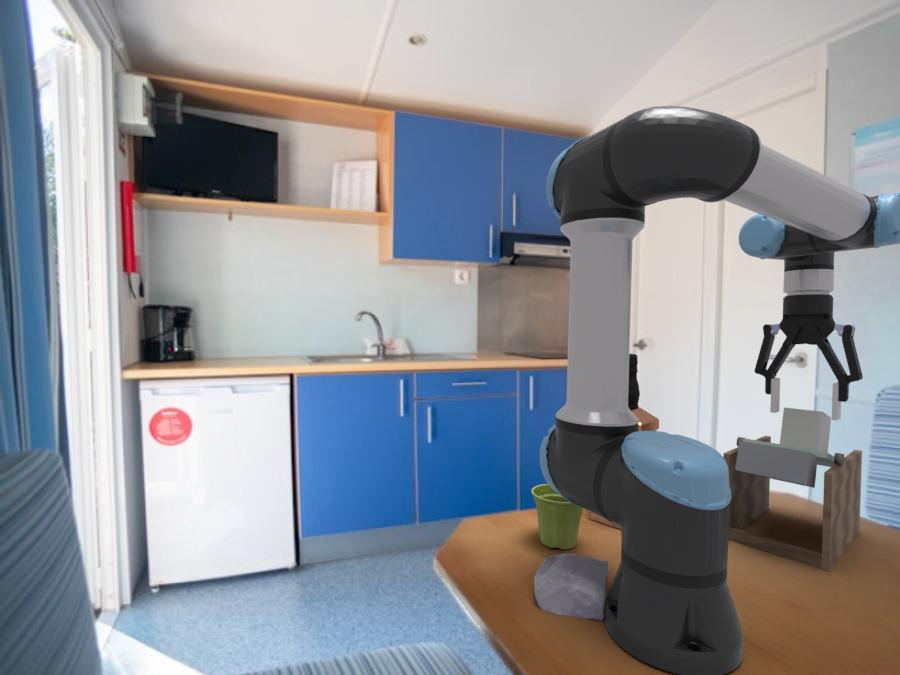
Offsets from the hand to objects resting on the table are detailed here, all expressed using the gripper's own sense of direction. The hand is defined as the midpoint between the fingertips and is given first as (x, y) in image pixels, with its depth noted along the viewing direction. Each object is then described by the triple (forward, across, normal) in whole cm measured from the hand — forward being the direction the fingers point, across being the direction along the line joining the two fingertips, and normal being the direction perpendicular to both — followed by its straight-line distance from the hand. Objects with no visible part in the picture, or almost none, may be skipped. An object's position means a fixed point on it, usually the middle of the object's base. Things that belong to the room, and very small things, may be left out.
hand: (804, 415), depth 91 cm
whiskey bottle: (+21, +23, +23) cm, 39 cm away
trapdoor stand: (+21, 0, +6) cm, 22 cm away
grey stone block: (+7, 0, 0) cm, 7 cm away
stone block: (+22, +14, +53) cm, 59 cm away
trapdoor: (+11, 0, +9) cm, 14 cm away
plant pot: (+21, +25, +41) cm, 52 cm away
